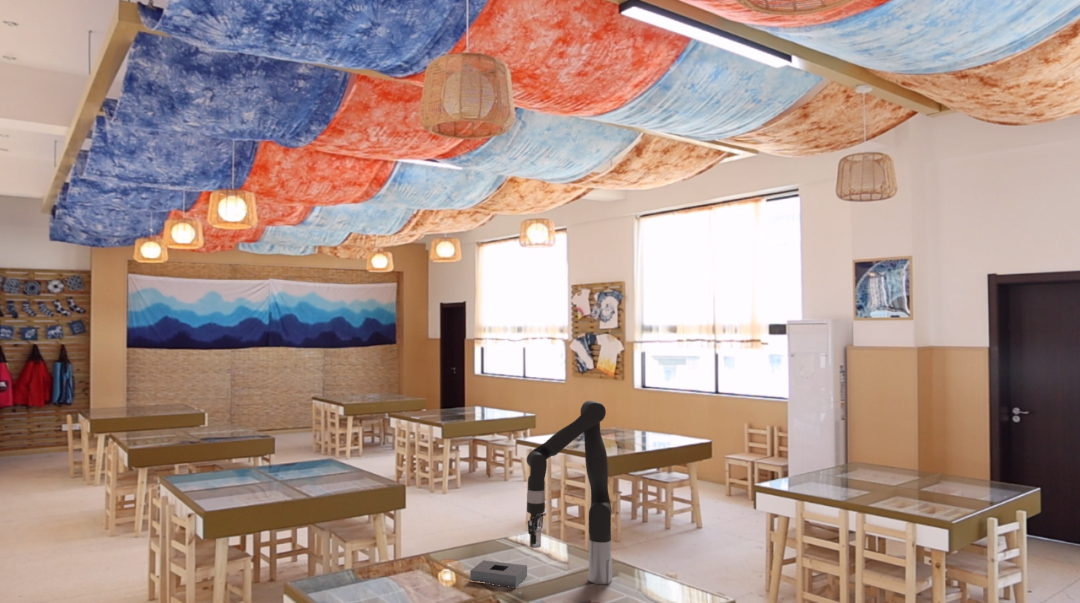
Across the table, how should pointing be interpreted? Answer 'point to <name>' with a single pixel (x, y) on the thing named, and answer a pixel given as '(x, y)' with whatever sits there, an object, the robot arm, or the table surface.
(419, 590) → the table surface
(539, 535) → the piston
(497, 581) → the grey block with hole
